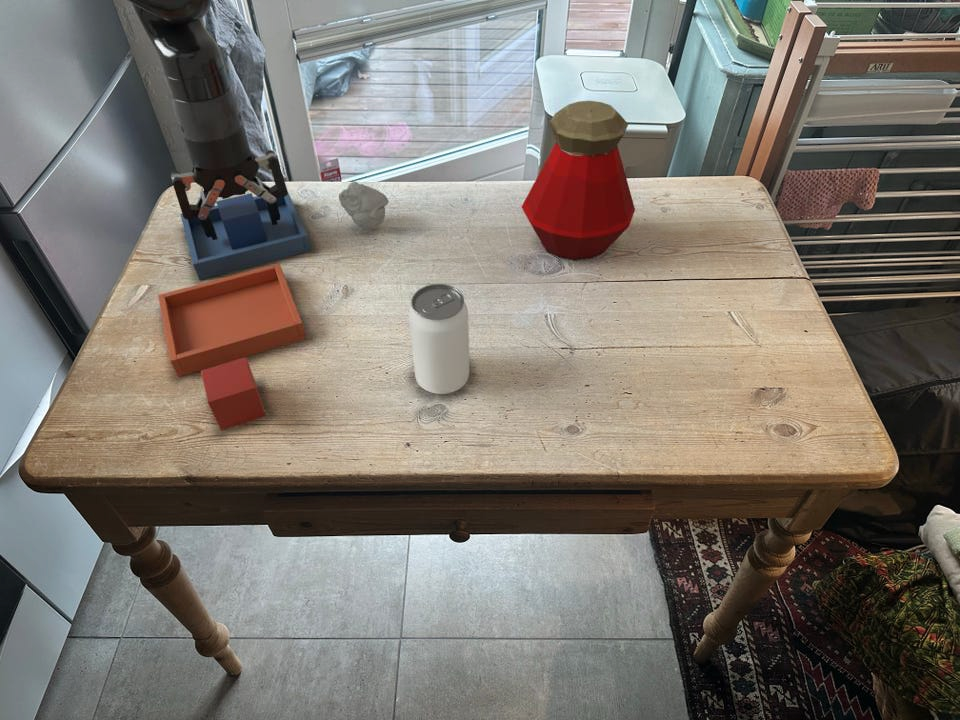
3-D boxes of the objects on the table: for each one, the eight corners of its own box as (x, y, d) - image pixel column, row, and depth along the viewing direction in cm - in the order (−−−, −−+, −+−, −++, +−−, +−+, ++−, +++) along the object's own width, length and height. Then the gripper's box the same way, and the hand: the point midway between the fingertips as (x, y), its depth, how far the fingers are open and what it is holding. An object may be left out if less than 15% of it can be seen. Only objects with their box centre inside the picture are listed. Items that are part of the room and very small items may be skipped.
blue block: (232, 249, 96) (222, 220, 92) (225, 230, 99) (215, 201, 95) (267, 240, 97) (258, 211, 93) (260, 221, 100) (251, 192, 96)
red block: (220, 430, 75) (207, 402, 71) (213, 399, 78) (200, 370, 74) (265, 416, 76) (255, 387, 73) (256, 385, 80) (246, 356, 76)
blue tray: (199, 280, 92) (193, 264, 90) (186, 229, 100) (180, 213, 98) (311, 251, 97) (307, 235, 95) (290, 204, 104) (286, 188, 102)
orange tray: (178, 377, 80) (170, 361, 78) (165, 310, 88) (157, 294, 86) (306, 338, 85) (302, 322, 83) (283, 278, 93) (279, 262, 90)
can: (404, 374, 81) (394, 299, 72) (445, 347, 84) (441, 272, 75) (438, 405, 77) (433, 331, 69) (480, 376, 80) (480, 302, 72)
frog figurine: (345, 215, 102) (338, 175, 97) (391, 213, 103) (387, 172, 98) (343, 240, 98) (335, 199, 93) (391, 237, 99) (386, 196, 94)
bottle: (519, 271, 94) (526, 138, 79) (519, 214, 103) (526, 85, 88) (633, 274, 93) (662, 141, 78) (623, 216, 102) (647, 87, 88)
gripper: (261, 99, 89) (287, 204, 101) (148, 121, 85) (189, 227, 97) (274, 125, 85) (299, 231, 97) (155, 150, 81) (197, 257, 93)
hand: (244, 229), depth 97 cm, fingers open, 8 cm apart
